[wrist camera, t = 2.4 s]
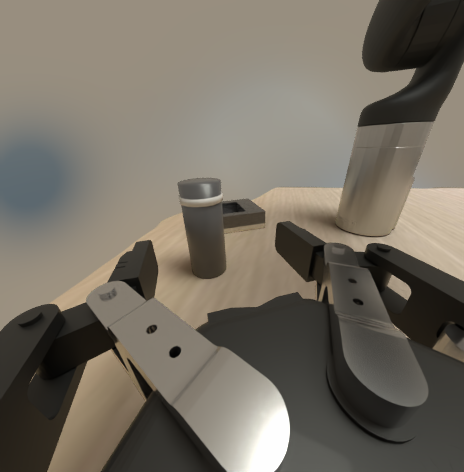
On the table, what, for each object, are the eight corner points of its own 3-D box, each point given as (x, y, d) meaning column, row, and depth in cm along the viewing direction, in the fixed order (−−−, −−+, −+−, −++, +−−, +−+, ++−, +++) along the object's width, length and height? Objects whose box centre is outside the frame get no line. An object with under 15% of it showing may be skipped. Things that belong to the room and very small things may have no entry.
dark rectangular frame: (248, 212, 46) (248, 198, 45) (264, 227, 38) (265, 211, 36) (192, 219, 43) (190, 205, 42) (196, 238, 35) (193, 220, 33)
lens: (222, 255, 29) (216, 176, 23) (230, 274, 24) (225, 183, 19) (190, 261, 28) (176, 179, 22) (193, 282, 23) (176, 188, 18)
